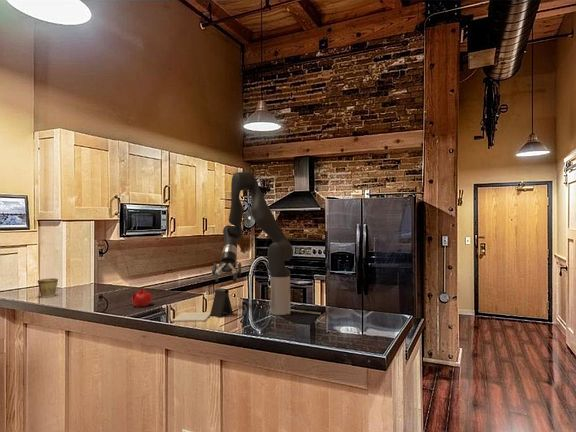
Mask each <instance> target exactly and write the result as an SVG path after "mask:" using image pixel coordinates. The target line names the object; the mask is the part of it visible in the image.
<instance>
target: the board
mask: <svg viewBox="0 0 576 432" xmlns="http://www.w3.org/2000/svg"><path fill="white" fill-rule="evenodd" d="M210 313H211V311H209V312H208V311H207V312H199V311H198V312H191V311H190V312H186V311H185V312H183V311H182V312H180V314H178V315H177V316H176V317H175V318H173V319H172V322H183V323H184V322H187V323H188V322H206V321H207V320H208V319H209V317H211V316H210Z"/></svg>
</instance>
